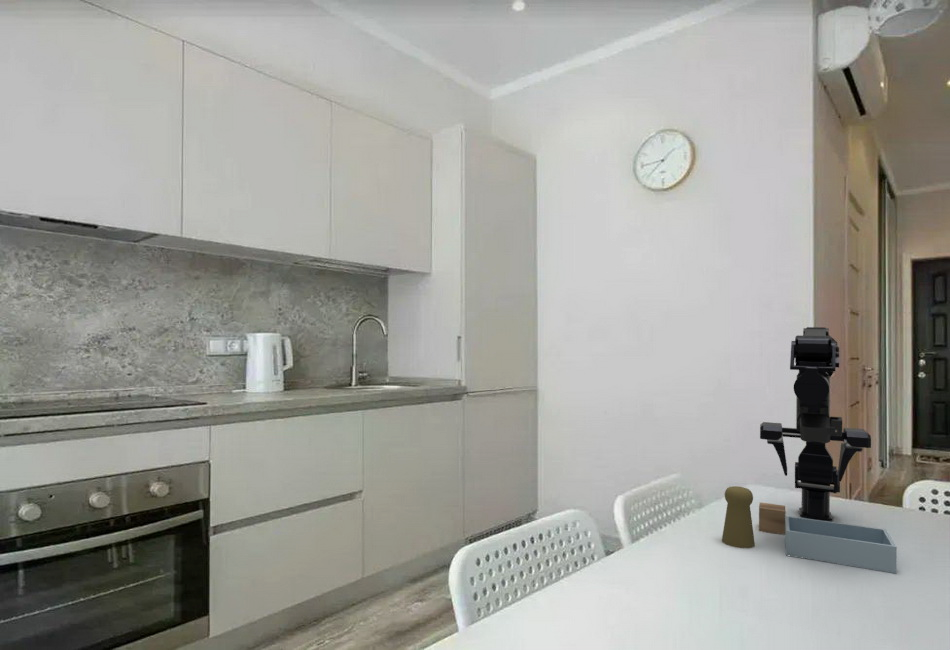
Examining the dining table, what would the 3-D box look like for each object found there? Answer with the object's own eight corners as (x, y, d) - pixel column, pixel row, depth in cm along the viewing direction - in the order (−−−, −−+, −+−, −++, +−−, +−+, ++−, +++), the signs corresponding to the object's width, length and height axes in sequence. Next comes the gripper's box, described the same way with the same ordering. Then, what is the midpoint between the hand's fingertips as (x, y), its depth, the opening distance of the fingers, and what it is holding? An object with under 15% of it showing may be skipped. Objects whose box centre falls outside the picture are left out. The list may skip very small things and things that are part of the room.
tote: (785, 538, 122) (785, 515, 122) (885, 553, 114) (885, 529, 114) (785, 555, 112) (786, 530, 112) (896, 573, 104) (896, 547, 104)
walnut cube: (759, 525, 131) (759, 502, 131) (784, 528, 128) (785, 505, 129) (758, 531, 126) (759, 507, 126) (785, 535, 124) (785, 511, 124)
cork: (748, 538, 121) (749, 484, 121) (759, 549, 115) (760, 492, 115) (717, 537, 122) (718, 483, 122) (727, 547, 116) (728, 490, 116)
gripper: (760, 400, 114) (759, 481, 114) (876, 406, 106) (875, 494, 106) (760, 394, 124) (759, 469, 124) (866, 400, 116) (866, 480, 116)
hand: (812, 478), depth 117 cm, fingers open, 9 cm apart
